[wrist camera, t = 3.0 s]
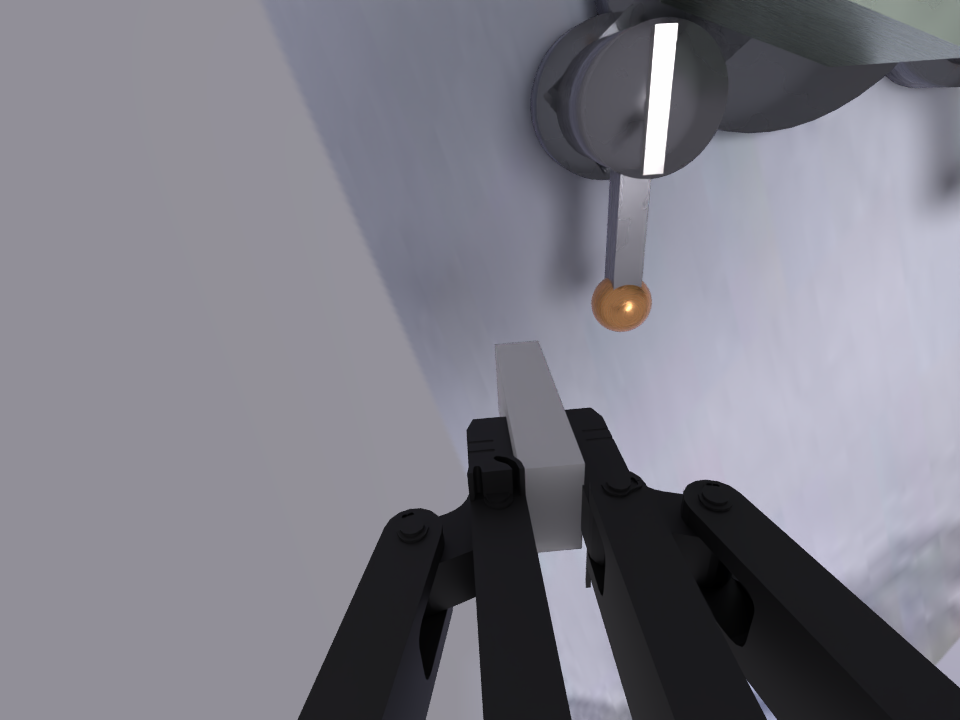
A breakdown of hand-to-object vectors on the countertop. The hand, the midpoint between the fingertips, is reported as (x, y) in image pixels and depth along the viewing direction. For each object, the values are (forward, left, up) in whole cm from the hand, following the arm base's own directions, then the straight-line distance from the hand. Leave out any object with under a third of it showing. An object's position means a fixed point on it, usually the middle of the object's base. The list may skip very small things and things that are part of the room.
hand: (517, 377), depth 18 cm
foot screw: (-6, +3, -9) cm, 11 cm away
